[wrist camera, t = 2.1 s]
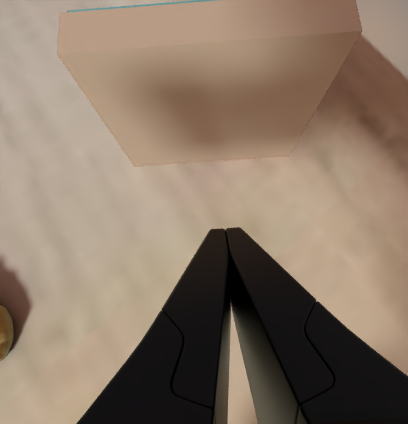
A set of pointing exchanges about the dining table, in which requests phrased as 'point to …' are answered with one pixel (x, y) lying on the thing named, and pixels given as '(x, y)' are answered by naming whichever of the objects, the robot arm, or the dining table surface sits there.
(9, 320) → the pastry
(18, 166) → the dining table surface
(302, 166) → the dining table surface
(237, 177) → the dining table surface
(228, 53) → the tile
